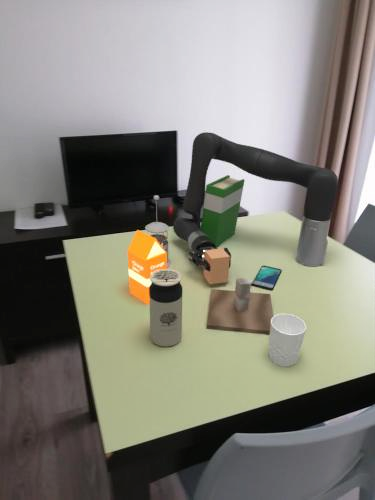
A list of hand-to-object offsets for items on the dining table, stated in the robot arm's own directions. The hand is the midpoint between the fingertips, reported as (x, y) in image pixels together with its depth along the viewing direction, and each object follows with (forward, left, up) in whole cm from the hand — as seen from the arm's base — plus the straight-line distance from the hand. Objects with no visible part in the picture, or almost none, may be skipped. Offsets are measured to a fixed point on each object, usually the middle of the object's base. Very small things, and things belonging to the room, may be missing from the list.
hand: (219, 267), depth 113 cm
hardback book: (+2, -37, -7) cm, 37 cm away
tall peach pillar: (+1, -2, -5) cm, 6 cm away
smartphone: (-16, -8, -7) cm, 20 cm away
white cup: (-17, +30, -7) cm, 35 cm away
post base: (-7, +13, -7) cm, 16 cm away
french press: (+22, -13, -7) cm, 27 cm away
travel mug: (+12, +27, -7) cm, 30 cm away
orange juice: (+21, +8, -7) cm, 23 cm away
